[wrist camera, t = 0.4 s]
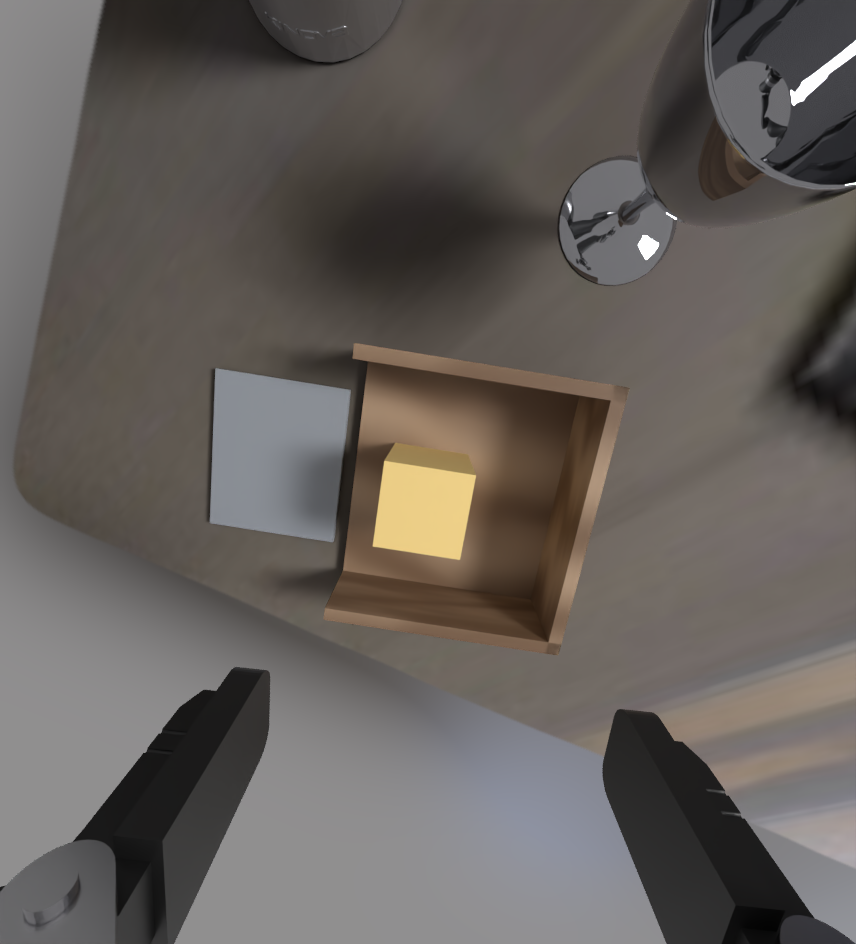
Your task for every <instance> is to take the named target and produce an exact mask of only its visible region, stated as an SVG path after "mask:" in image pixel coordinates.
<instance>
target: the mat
mask: <svg viewBox="0 0 856 944" xmlns="http://www.w3.org/2000/svg"><path fill="white" fill-rule="evenodd" d="M350 396H351V390H349V389H343V388H337V387H331V386H325V385H318V384H312V383H306V382H300V381H294V380H287V379H281V378H275V377H269V376H263V375H256V374H250V373H244V372H238V371H232V370H225V369H219V368H215V394H214V422H213V450H212V478H211V506H210V523H213V524H219V525H226V526H232V527H238V528H245V529H251V530H258V531H264V532H271V533H277V534H283V535H290V536H296V537H303V538H309V539H316V540H322V541H328V542H333V541H334V539H335V530H336V521H337V512H338V503H339V494H340V485H341V476H342V467H343V458H344V449H345V440H346V432H347V423H348V414H349V405H350Z"/></svg>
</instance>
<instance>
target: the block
mask: <svg viewBox="0 0 856 944" xmlns="http://www.w3.org/2000/svg"><path fill="white" fill-rule="evenodd" d="M475 479H476V474H475V471H474V468H473V466H472V463H471V461H470V458H469V456H468V454H462V453H456V452H450V451H444V450H437V449H431V448H425V447H419V446H412V445H406V444H400V443H395V444H394V446H393V448H392V449H391V451H390V452H389V454H388V456H387V457H386V459H385V460H384V466H383V474H382V481H381V489H380V496H379V503H378V511H377V518H376V525H375V533H374V540H373V547H380V548H386V549H393V550H399V551H406V552H412V553H418V554H425V555H431V556H438V557H444V558H450V559H457V560H460V557H461V552H462V547H463V542H464V536H465V531H466V526H467V521H468V516H469V510H470V505H471V500H472V495H473V489H474V484H475Z"/></svg>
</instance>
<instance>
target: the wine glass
mask: <svg viewBox="0 0 856 944" xmlns="http://www.w3.org/2000/svg"><path fill="white" fill-rule="evenodd" d="M855 190H856V0H690V1H689V3H688V5H687V6H686V8H685V10H684V11H683V13H682V15H681V16H680V18H679V20H678V22H677V24H676V26H675V28H674V30H673V32H672V35H671V37H670V39H669V41H668V43H667V45H666V47H665V49H664V51H663V53H662V56H661V58H660V60H659V63H658V65H657V68H656V70H655V72H654V75H653V78H652V80H651V83H650V86H649V88H648V91H647V94H646V97H645V100H644V104H643V108H642V112H641V116H640V121H639V127H638V136H637V157H634V156H616V157H611V158H607V159H605V160H602V161H600V162H598V163H596V164H594V165H593V166H591V167H590V168H588V169H587V170H586V171H585V172H584V173H583V174H581V175H580V176H579V178H578V179H577V180H576V181H575V182H574V184H573V185H572V187H571V188H570V190H569V192H568V193H567V195H566V197H565V200H564V202H563V205H562V209H561V213H560V217H559V238H560V243H561V247H562V250H563V252H564V255H565V257H566V259H567V261H568V262H569V263H570V265H571V266H572V268H573V269H574V270H575V271H576V272H577V273H578V274H579V275H581V276H582V277H584V278H585V279H587V280H589V281H591V282H594V283H596V284H601V285H606V286H616V285H622V284H627V283H630V282H632V281H635V280H637V279H639V278H641V277H642V276H644V275H646V274H647V273H648V272H649V271H651V270H652V269H653V268H654V267H655V266H656V265H657V264H658V263H659V262H660V260H661V259H662V258H663V256H664V255H665V253H666V252H667V250H668V248H669V246H670V244H671V242H672V240H673V236H674V233H675V229H676V224H677V220H678V221H680V222H683V223H685V224H687V225H692V226H697V227H702V228H732V227H739V226H746V225H751V224H757V223H762V222H766V221H770V220H774V219H778V218H782V217H785V216H789V215H793V214H796V213H798V212H801V211H804V210H807V209H809V208H812V207H815V206H817V205H820V204H822V203H825V202H827V201H830V200H833V199H835V198H838V197H840V196H843V195H845V194H848V193H851V192H853V191H855Z"/></svg>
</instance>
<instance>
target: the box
mask: <svg viewBox="0 0 856 944" xmlns="http://www.w3.org/2000/svg"><path fill="white" fill-rule="evenodd" d="M352 359H357V360H362V361H368V366H367V374H366V382H365V391H364V399H363V408H362V416H361V424H360V433H359V441H358V449H357V458H356V466H355V475H354V483H353V491H352V500H351V508H350V516H349V525H348V533H347V542H346V550H345V558H344V567H343V572H342V574H341V576H340V578H339V580H338V582H337V584H336V586H335V588H334V590H333V592H332V594H331V596H330V599H329V601H328V603H327V605H326V607H325V611H324V620H330V621H336V622H343V623H349V624H356V625H362V626H369V627H376V628H382V629H389V630H395V631H402V632H408V633H415V634H421V635H428V636H434V637H441V638H447V639H454V640H460V641H467V642H474V643H480V644H487V645H493V646H500V647H506V648H513V649H519V650H526V651H532V652H539V653H545V654H552V655H558V654H559V651H560V647H561V643H562V639H563V636H564V632H565V628H566V624H567V621H568V617H569V613H570V609H571V606H572V602H573V598H574V594H575V591H576V587H577V583H578V580H579V576H580V572H581V568H582V565H583V561H584V557H585V553H586V550H587V546H588V542H589V538H590V535H591V531H592V527H593V523H594V520H595V516H596V512H597V508H598V505H599V501H600V497H601V493H602V490H603V486H604V482H605V478H606V475H607V471H608V467H609V463H610V460H611V456H612V452H613V448H614V445H615V441H616V437H617V433H618V430H619V426H620V422H621V419H622V415H623V411H624V407H625V404H626V400H627V396H628V392H629V389H630V388H628V387H621V386H615V385H609V384H603V383H597V382H591V381H585V380H578V379H572V378H566V377H560V376H554V375H548V374H542V373H535V372H529V371H523V370H517V369H511V368H505V367H499V366H492V365H486V364H480V363H474V362H468V361H462V360H456V359H450V358H443V357H437V356H431V355H425V354H419V353H413V352H407V351H400V350H394V349H388V348H382V347H376V346H370V345H364V344H357V343H354V349H353V358H352ZM395 443H400V444H406V445H412V446H419V447H425V448H431V449H437V450H444V451H450V452H456V453H462V454H468V456H469V458H470V461H471V463H472V466H473V468H474V471H475V474H476V479H475V484H474V489H473V495H472V500H471V505H470V510H469V516H468V521H467V526H466V531H465V536H464V542H463V547H462V552H461V557H460V560H457V559H450V558H444V557H438V556H431V555H425V554H418V553H412V552H406V551H399V550H393V549H386V548H380V547H373V540H374V533H375V525H376V518H377V511H378V503H379V496H380V489H381V481H382V474H383V466H384V460H385V459H386V457H387V456H388V454H389V452H390V451H391V449H392V448H393V446H394V444H395Z"/></svg>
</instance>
